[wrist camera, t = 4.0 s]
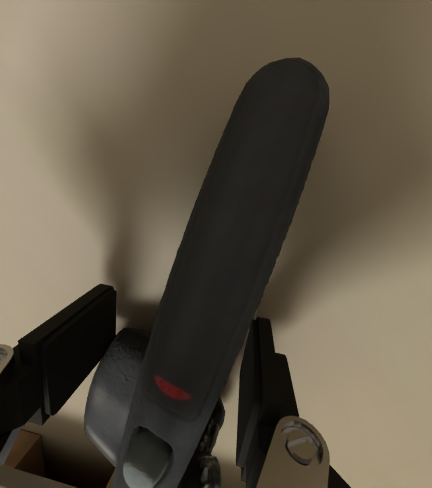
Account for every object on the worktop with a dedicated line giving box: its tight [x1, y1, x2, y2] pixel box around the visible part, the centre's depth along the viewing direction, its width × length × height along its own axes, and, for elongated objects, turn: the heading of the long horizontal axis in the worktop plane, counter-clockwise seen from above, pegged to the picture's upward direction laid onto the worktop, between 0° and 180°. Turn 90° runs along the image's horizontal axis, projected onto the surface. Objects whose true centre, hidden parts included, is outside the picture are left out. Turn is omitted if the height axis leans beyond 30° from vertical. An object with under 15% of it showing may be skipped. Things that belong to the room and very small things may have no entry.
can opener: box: [84, 58, 329, 488], centre depth 8 cm, size 18×7×6 cm, turn 158°
